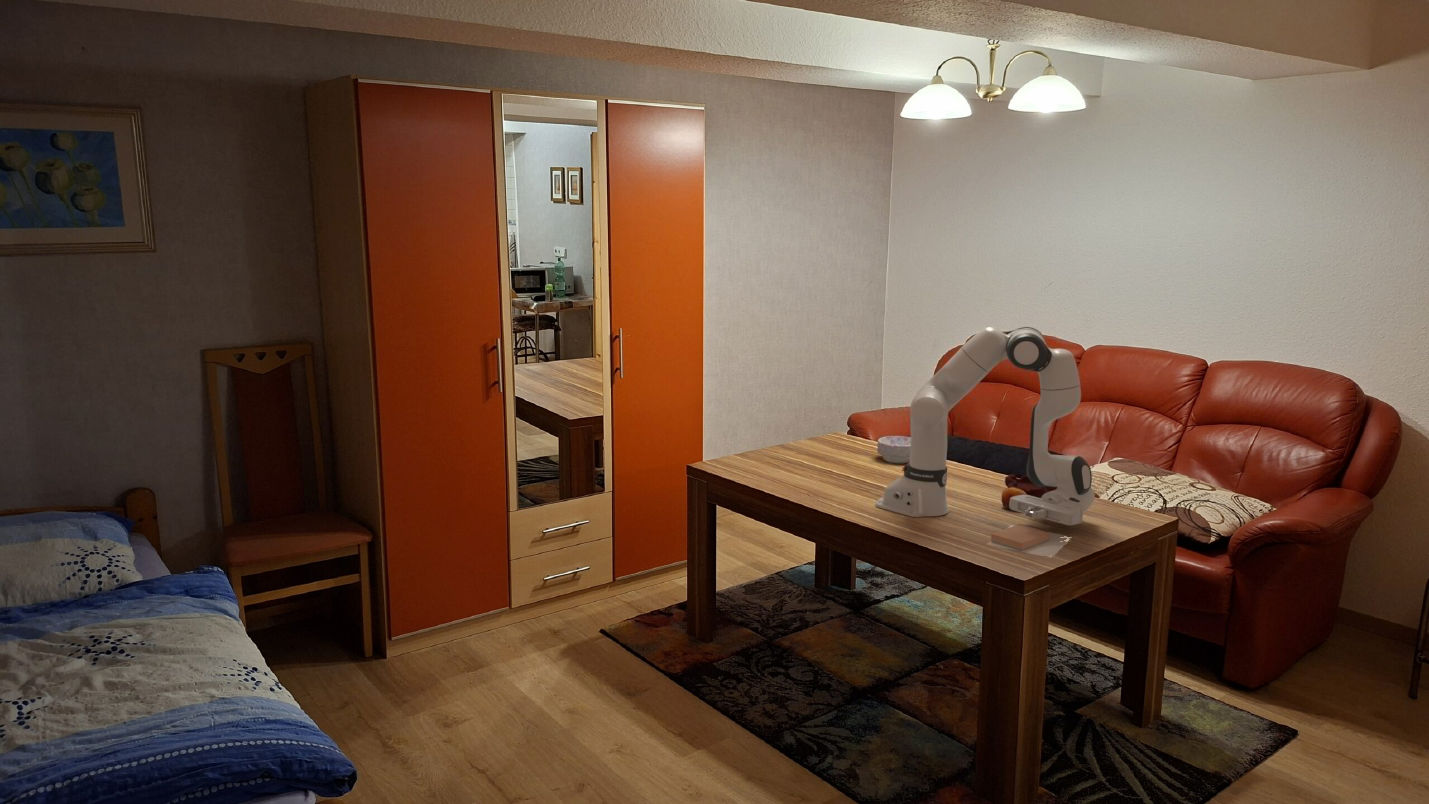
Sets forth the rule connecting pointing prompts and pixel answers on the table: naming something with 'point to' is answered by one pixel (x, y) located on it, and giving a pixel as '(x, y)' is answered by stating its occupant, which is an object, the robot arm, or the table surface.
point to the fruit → (1010, 495)
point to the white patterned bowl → (895, 449)
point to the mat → (1041, 546)
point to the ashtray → (1027, 486)
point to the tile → (1020, 537)
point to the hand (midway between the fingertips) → (1029, 514)
